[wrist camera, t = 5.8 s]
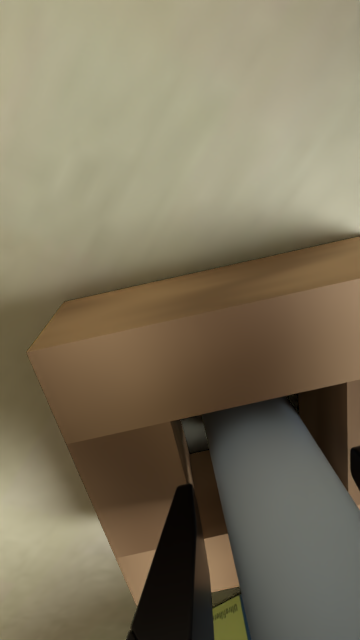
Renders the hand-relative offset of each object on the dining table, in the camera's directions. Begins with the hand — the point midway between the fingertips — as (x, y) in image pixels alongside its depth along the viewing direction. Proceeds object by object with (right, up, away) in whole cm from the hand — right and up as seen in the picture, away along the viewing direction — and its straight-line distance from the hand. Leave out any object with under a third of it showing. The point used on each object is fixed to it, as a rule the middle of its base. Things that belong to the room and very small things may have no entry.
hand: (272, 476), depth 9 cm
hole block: (0, +1, +4) cm, 4 cm away
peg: (0, +1, +4) cm, 4 cm away
